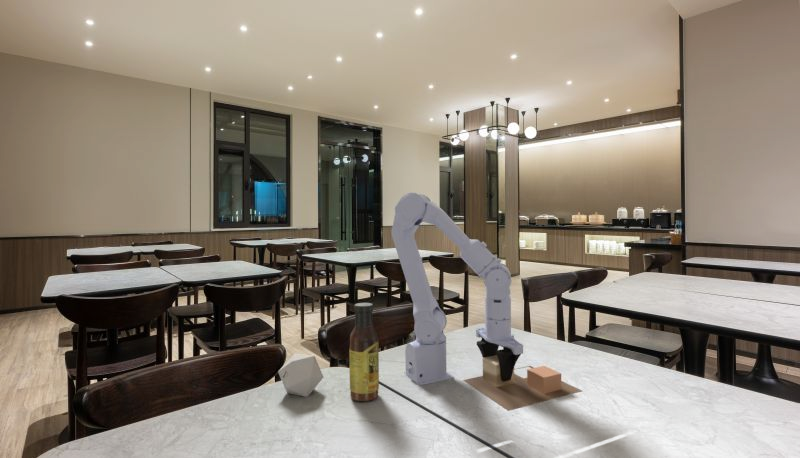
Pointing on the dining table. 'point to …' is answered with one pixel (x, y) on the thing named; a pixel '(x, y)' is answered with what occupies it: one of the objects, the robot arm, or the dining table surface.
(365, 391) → the sauce bottle
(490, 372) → the maple block
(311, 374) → the die
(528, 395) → the build board
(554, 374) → the terracotta base block
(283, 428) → the dining table surface
